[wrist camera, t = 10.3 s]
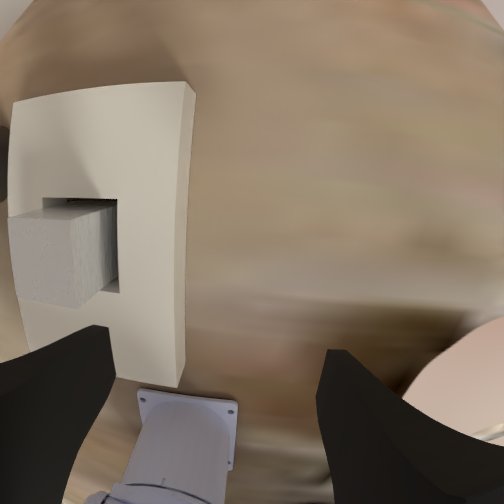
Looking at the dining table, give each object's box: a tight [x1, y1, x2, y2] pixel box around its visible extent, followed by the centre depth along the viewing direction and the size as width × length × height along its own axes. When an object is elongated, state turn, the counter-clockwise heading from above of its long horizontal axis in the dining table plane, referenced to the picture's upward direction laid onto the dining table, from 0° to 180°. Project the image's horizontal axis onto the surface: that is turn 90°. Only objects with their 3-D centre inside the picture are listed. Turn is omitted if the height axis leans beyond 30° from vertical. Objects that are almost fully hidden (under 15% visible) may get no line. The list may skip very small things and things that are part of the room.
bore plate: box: [8, 81, 196, 388], centre depth 18 cm, size 18×12×3 cm, turn 175°
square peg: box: [7, 201, 119, 309], centre depth 16 cm, size 4×4×7 cm
